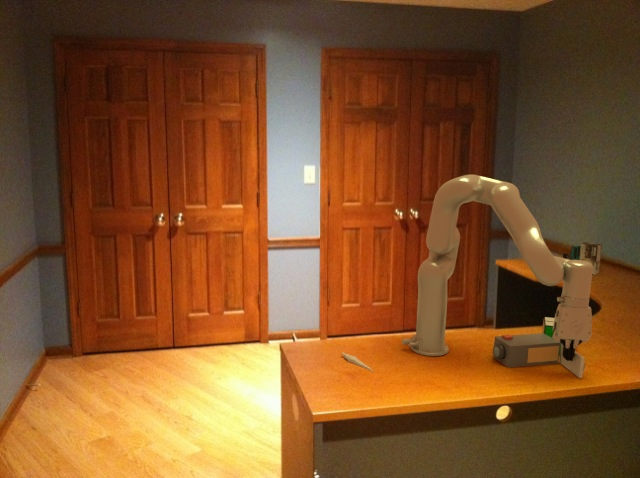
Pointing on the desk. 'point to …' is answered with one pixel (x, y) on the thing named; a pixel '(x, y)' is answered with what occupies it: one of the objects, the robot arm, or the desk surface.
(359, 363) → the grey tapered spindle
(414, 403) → the desk surface
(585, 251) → the coffee box
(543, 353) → the camera box
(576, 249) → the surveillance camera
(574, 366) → the side door
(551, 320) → the puzzle cube
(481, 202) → the robot arm
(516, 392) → the desk surface
